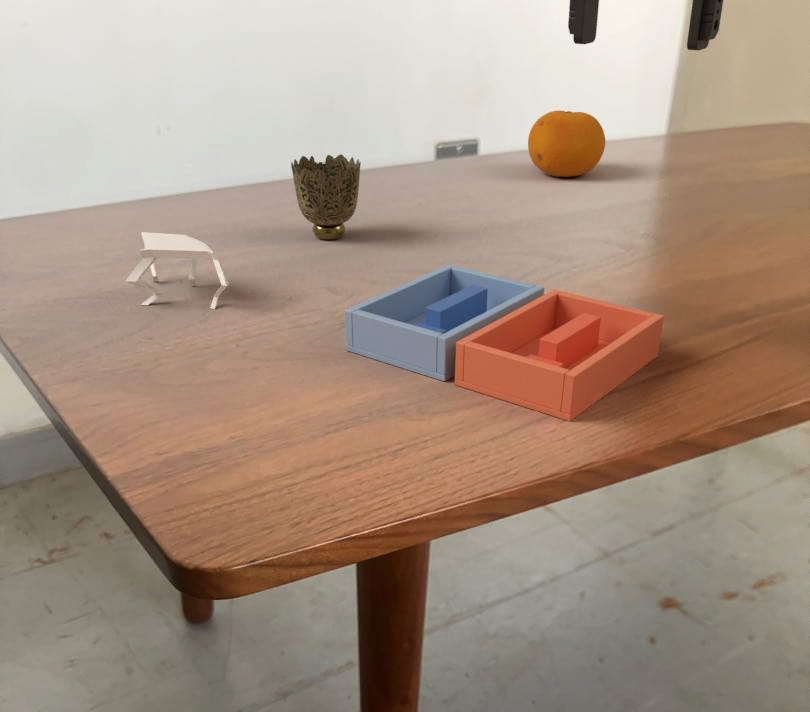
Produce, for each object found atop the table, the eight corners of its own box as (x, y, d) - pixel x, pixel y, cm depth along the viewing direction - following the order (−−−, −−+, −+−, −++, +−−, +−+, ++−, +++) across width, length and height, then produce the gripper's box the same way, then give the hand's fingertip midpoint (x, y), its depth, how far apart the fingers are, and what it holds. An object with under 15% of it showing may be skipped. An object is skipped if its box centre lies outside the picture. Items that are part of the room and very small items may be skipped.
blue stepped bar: (465, 311, 82) (466, 283, 81) (493, 318, 81) (494, 290, 79) (393, 347, 75) (392, 317, 74) (422, 356, 74) (422, 325, 72)
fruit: (603, 167, 130) (610, 105, 126) (599, 184, 122) (606, 119, 117) (530, 163, 132) (534, 102, 128) (520, 180, 124) (525, 116, 119)
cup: (358, 225, 106) (356, 152, 102) (367, 244, 100) (365, 167, 96) (293, 229, 105) (288, 154, 101) (298, 248, 99) (293, 170, 95)
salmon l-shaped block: (572, 340, 77) (576, 310, 75) (605, 349, 75) (609, 318, 74) (505, 382, 70) (507, 350, 68) (539, 393, 68) (542, 360, 67)
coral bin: (657, 356, 75) (664, 315, 73) (569, 421, 66) (575, 376, 64) (550, 328, 80) (554, 289, 78) (454, 384, 71) (455, 341, 69)
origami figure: (103, 303, 85) (93, 250, 83) (156, 275, 92) (148, 225, 89) (213, 321, 82) (207, 266, 79) (261, 291, 88) (256, 239, 85)
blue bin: (541, 325, 81) (544, 286, 79) (444, 381, 71) (445, 339, 69) (447, 301, 86) (448, 264, 84) (345, 350, 76) (344, 309, 74)
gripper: (811, -265, 54) (757, 45, 63) (593, -240, 61) (573, 35, 70) (769, -280, 49) (717, 58, 58) (537, -251, 56) (523, 46, 66)
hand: (638, 46), depth 64 cm, fingers open, 8 cm apart
